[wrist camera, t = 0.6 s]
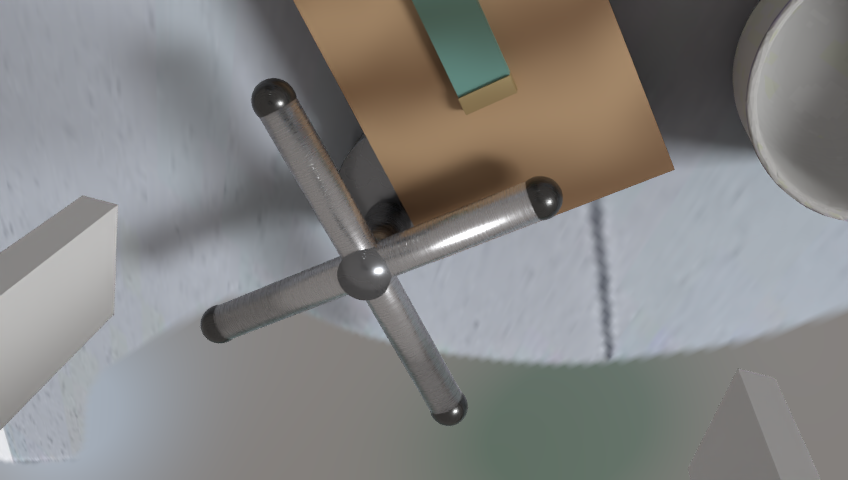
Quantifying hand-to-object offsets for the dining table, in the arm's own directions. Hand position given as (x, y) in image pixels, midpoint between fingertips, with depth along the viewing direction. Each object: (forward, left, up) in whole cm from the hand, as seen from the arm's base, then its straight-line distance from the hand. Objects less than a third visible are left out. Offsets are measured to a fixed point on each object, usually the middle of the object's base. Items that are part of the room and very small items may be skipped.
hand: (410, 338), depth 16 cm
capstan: (+5, -8, -25) cm, 26 cm away
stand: (-2, 0, -25) cm, 25 cm away
